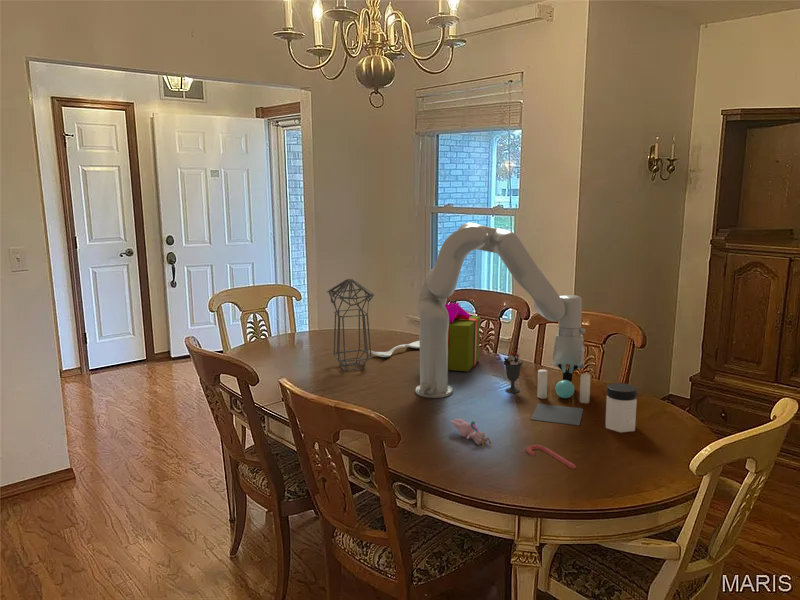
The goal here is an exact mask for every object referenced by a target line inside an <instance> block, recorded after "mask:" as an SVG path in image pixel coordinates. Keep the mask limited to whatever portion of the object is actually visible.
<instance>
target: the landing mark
mask: <svg viewBox="0 0 800 600" xmlns="http://www.w3.org/2000/svg"><path fill="white" fill-rule="evenodd" d="M583 413H584V408H582V407H581V408H580V407H573V406H565V405H564V406H563V405H555V404H547V403H546V404H545V403H537V405H536V407H535V409H534V412H533V414H532V415H531V417H530V421H538V422H546V423H553V424H554V423H555V424H561V425H562V424H563V425H571V426H580V424H581V422H582V421H581V420H582V416H583Z"/></svg>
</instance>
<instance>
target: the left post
mask: <svg viewBox="0 0 800 600" xmlns="http://www.w3.org/2000/svg"><path fill="white" fill-rule="evenodd" d="M536 389H537V394H536V395H537V398H538V399H540V400H541V399H547V393H548V392H547V391H548V370H547V369H538V370H537V388H536Z"/></svg>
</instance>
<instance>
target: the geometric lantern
mask: <svg viewBox="0 0 800 600" xmlns="http://www.w3.org/2000/svg"><path fill="white" fill-rule="evenodd" d="M355 286H356V287H357V288H355ZM361 291H363V292H364V294H365V295H363V296H358V294H359V293H360V292H361ZM326 293H328V294H329V297H330V303H331V304H332V305H333V306H334V309H335V311H333V313H334V327H333V329H334V331H333V334H334V335H333V356H334V357H335V359H336V360H337V362H339V368H341V369H342V370H343V371H345V372H346V371H355V370H362V369H365V368H366V363H367V361H369V360H370V359H372V354H371V351H372V349H371V336H370V335H371V334H370V322H369V303H370V301H371V300H372V299H373V298H374V296H375V293H373V292H372V291H370V290H369V289H367V288H366V287H365V286H363V285H362V284H360V283H359V282H357V281H356V280H354V279H353V278H346V279H345V280H343V281H342V282H340V283H337V285H335V286H334V287H332V288H330V289H329V290H328V291H326ZM345 293H348V296H345ZM352 293H354V294H353V295H352ZM363 298H364V299H363ZM337 299H340V300H341V301H340V304H339V306H338V309H337V305H336V300H337ZM358 299H362V300H360V301H359V302H358ZM346 300H348V301H346ZM351 300H352V301H353V302H354V303H353V304H352V303H351V302H350V301H351ZM343 302H344V303H346V304H347V305H349V306H348V308H346V309H344V310H343V309H342V310H340V309H341V307H342V303H343ZM363 302H364V303H363ZM362 303H363V305H362V307H361V306H360V304H362ZM366 303H367V311H365V310H364V307H365V305H366ZM353 306H354V307H355V306H357V307H358V308H354V309H353V308H352V309H351V307H353ZM350 311H358V315H356V314H355V315H346V314H347V312H350ZM341 312H344V314H343V315H340V313H341ZM351 317H353V318H354V317H358V349H354V350H346V344H345V320H344V318H351ZM361 317H362V318H361ZM341 319H342V320H341ZM361 319H362V320H361ZM341 321H342V342H343V343H342V344H343V351H340V350H341V349H340V348H341V347H340V346H341V345H340V343H341V340H340V339H341ZM361 321H362V331H363V343H364V344H363V345H364V349H361ZM366 326H367V327H366ZM336 327H337V328H336ZM336 332H337V333H336ZM336 334H337V337H336ZM367 336H368V337H367ZM367 338H368V339H367ZM336 339H337V341H336ZM336 342H337V344H336ZM368 347H369V350H368ZM368 351H370V353H368ZM353 352H357V354H356V357H353V358H351V357H350V358H346V353H353ZM360 352H362V354H361V355H360V356H359V353H360ZM340 354H343V359H342V358H341V357H340ZM364 354H366V358H361V357H362V356H363V355H364ZM360 361H361V362H362V363H361V362H360ZM347 362H350V363H347ZM344 363H345V364H344ZM359 365H360V366H362V367H357V368H351V369H349V367H350V366H359ZM342 366H344V367H342Z"/></svg>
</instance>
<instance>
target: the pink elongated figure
mask: <svg viewBox="0 0 800 600" xmlns="http://www.w3.org/2000/svg"><path fill="white" fill-rule="evenodd" d="M449 422H450V423H451V424H452V425H453V426H454V427H455V429H457V430H458V433H459V435H460V436H461V437H465V438H466V439H467V440H469V439H470V438H471V440H474V443H475V444H476V445H477V446H481V445H482V446H481V447H485V444H486V443H487V442H488V445H491V444H492V439H490V438H489V437H487V436H486V435H485V432H484V431H483V432H482V431H479V428H478V426H477V425H476V421H473V420H472V421H471V422H467V421H466V420H464V419H462V418H455V419H452V420H451V419H450V420H449Z"/></svg>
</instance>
